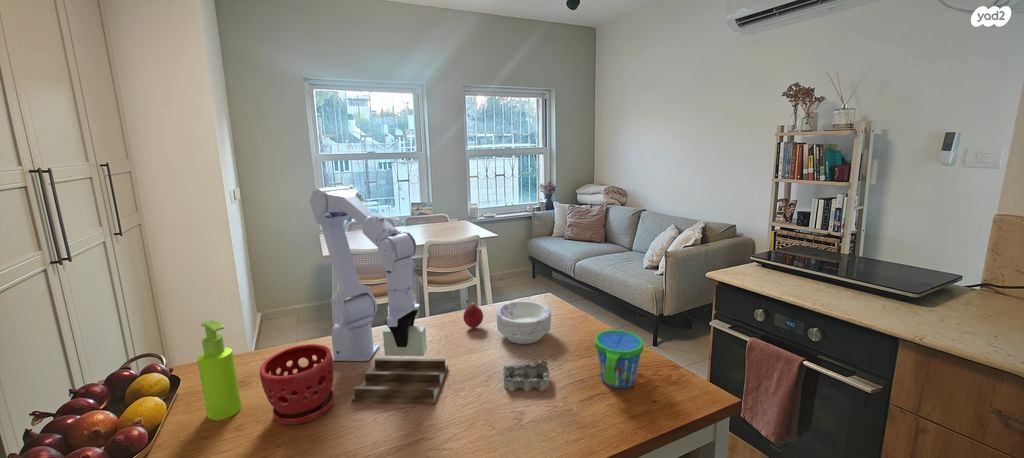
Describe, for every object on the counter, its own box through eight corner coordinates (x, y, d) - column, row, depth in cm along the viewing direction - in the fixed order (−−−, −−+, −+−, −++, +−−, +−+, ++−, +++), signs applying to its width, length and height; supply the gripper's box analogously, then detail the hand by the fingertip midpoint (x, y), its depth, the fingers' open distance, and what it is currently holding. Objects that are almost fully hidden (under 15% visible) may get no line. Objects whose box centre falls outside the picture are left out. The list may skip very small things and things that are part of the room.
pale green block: (384, 355, 98) (382, 331, 96) (389, 349, 101) (387, 325, 99) (423, 356, 97) (421, 331, 96) (426, 349, 100) (425, 326, 99)
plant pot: (289, 392, 95) (282, 343, 93) (347, 392, 95) (342, 343, 92) (252, 431, 82) (243, 375, 80) (319, 432, 82) (312, 375, 79)
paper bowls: (553, 349, 113) (553, 321, 111) (495, 349, 113) (494, 322, 111) (548, 324, 127) (548, 299, 126) (498, 325, 128) (497, 300, 126)
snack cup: (629, 406, 88) (631, 361, 86) (582, 390, 94) (583, 348, 92) (650, 371, 101) (652, 332, 99) (607, 360, 107) (608, 322, 105)
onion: (482, 332, 123) (481, 306, 121) (462, 332, 123) (461, 306, 121) (484, 324, 129) (483, 299, 127) (465, 324, 129) (464, 299, 127)
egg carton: (549, 374, 101) (549, 359, 100) (550, 393, 94) (550, 376, 93) (504, 374, 102) (504, 358, 101) (501, 392, 94) (501, 375, 93)
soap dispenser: (218, 426, 84) (201, 332, 80) (202, 414, 88) (185, 324, 84) (249, 410, 89) (235, 320, 85) (232, 400, 93) (218, 314, 88)
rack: (351, 402, 91) (350, 390, 90) (375, 368, 105) (374, 357, 104) (434, 404, 90) (434, 391, 89) (448, 369, 104) (447, 357, 103)
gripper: (408, 298, 88) (412, 358, 91) (425, 276, 102) (429, 329, 105) (375, 298, 89) (380, 358, 91) (397, 276, 103) (401, 328, 106)
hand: (404, 342), depth 98 cm, fingers closed on pale green block, 3 cm apart
